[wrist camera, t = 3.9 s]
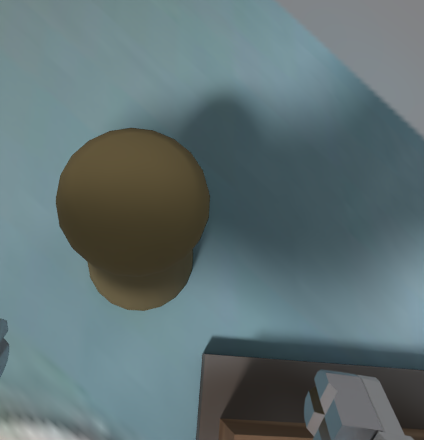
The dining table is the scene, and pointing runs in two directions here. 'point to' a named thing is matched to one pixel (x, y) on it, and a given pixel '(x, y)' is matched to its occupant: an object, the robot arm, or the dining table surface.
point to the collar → (287, 397)
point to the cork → (134, 214)
